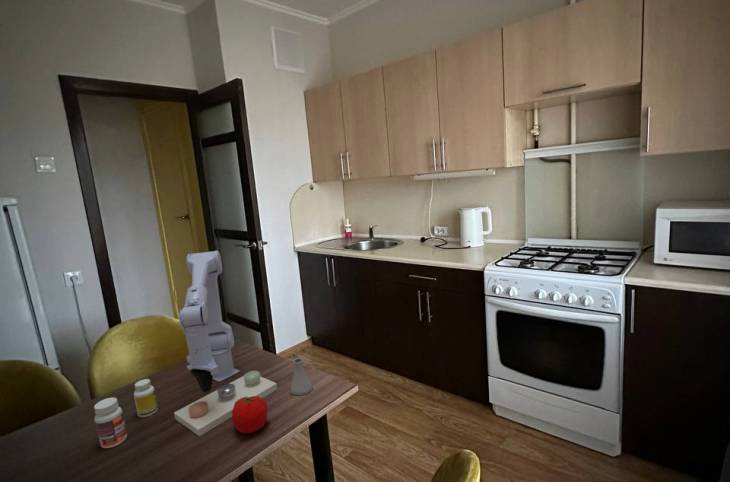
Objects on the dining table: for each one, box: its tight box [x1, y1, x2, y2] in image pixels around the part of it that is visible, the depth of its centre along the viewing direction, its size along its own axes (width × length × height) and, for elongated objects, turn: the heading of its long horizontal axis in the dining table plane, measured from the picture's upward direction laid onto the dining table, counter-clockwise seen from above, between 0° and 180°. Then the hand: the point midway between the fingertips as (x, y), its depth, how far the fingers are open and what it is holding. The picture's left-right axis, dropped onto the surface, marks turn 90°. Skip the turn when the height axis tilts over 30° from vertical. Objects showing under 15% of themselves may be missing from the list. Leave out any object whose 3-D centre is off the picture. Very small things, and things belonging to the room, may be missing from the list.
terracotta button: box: [189, 401, 208, 418], centre depth 108 cm, size 5×5×2 cm
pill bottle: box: [93, 397, 128, 449], centre depth 101 cm, size 6×6×11 cm
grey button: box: [216, 383, 236, 398], centre depth 114 cm, size 5×5×2 cm
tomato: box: [231, 396, 269, 434], centre depth 102 cm, size 9×10×8 cm
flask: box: [290, 357, 313, 396], centre depth 118 cm, size 7×7×10 cm
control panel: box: [173, 375, 278, 437], centre depth 115 cm, size 14×26×2 cm, turn 141°
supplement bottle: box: [133, 378, 159, 418], centre depth 113 cm, size 5×5×10 cm
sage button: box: [243, 370, 261, 384], centre depth 121 cm, size 5×5×2 cm
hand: (206, 390), depth 110 cm, fingers closed
